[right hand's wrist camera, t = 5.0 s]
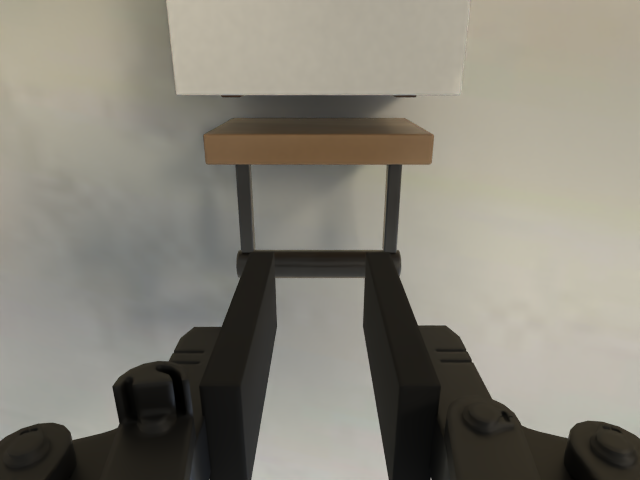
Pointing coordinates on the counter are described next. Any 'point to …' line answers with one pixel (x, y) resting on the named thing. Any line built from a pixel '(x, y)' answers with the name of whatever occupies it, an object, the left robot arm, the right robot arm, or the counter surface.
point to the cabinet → (318, 46)
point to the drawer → (318, 149)
